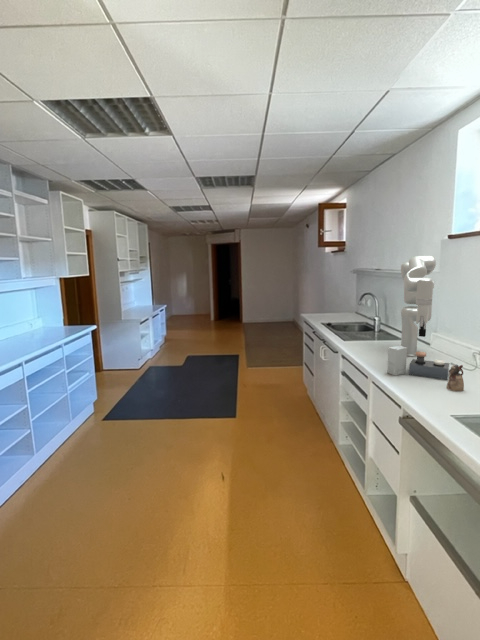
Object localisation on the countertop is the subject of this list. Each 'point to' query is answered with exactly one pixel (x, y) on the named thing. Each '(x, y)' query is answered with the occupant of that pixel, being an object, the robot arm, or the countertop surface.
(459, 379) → the figurine
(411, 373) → the housing
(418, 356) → the knob
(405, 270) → the robot arm
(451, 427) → the countertop surface
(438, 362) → the knob
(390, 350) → the skincare box
